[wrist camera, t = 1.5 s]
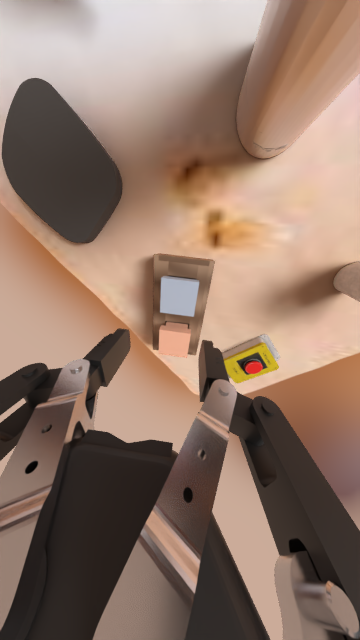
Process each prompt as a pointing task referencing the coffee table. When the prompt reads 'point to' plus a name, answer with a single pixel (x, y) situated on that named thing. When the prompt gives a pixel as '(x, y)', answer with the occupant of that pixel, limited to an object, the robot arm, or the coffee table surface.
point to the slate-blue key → (178, 295)
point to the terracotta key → (174, 339)
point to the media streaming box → (58, 163)
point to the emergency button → (251, 359)
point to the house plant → (349, 280)
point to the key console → (203, 273)
